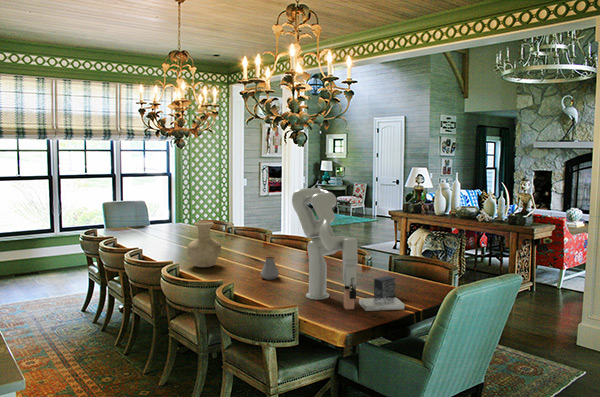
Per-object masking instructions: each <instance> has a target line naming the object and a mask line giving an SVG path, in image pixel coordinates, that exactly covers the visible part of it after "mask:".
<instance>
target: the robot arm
mask: <svg viewBox="0 0 600 397" xmlns="http://www.w3.org/2000/svg"><path fill="white" fill-rule="evenodd" d="M337 201H338V200H337V197H336V195H335V194H334V193H333V192H331V191H328V190H326V189H322V188H319V187H311V188H309V187H308V188H307V187H306V188H300V189H296V190H294V192H293V194H292V198H291V204H292V207H293V209H294V211H295V213H296V215H297V217H298V219H299V222H300V225H301V227H302V230H303V233H304V236H305V237H307V238H310V239H311V240H310V241H308V243H307V246H306V248H307V249H306V250H307V255H308V292H307V293H305V297H306V298H307V299H310V300H316V301H317V300H318V301H319V300H326V299H329V297H330V294H329V293H328V292H327V279H328V278H327V277H328V276H327V268H328V267H327V261H326V258H325V256H330V255H334V254H336V253H337V252H341V251H342V253H341V254H342V262H341V263H342V264H341V265H342V267H343V268H342V283H343V284H344V289H350V299H354V300H355V299H357V282H358V281H357V266H358V265H359V264H358V262H359V261H358V255H359V254H358V252H359V251H358V239H357V238H356V237H351V236H347V235H335V233H334V230H333V228H332V226H331V224H332V223H333V222H334V221H335V219H336V214H335V213H334V210H333V208H334V207H336V205H337V203H338V202H337ZM309 204H310V205H312V207H313V209H314V211H313V210H312V209H311V207H310V206H308V205H309ZM314 212H315V213H314ZM315 214H316V216H317V218H318V219H316V216H315ZM313 238H314V239H313Z"/></svg>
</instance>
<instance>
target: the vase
mask: <svg viewBox="0 0 600 397" xmlns="http://www.w3.org/2000/svg"><path fill="white" fill-rule="evenodd" d="M214 224H215V223H214V222H212V221H197V222H194V227H197V238H195V239H194V240H191V241H190V242H189V243H188V245H187V248H186V249H187V254H188V256H189V258H190V260H191V261H192V265H193V266H194V267H195V268H196V267H197V268H210V267H214V266H215V265H216V263H217V260H218V259H219V257H220V254H221V251H222V245H221V243H220V242H219V241H217V240H216V239H213V238H212V237H211V228H212V227H213V226H214Z"/></svg>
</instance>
